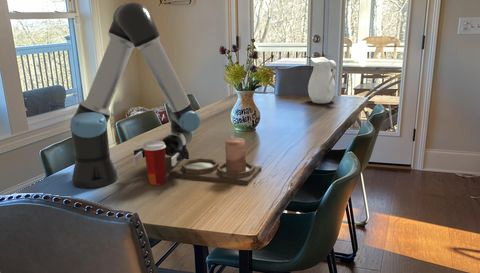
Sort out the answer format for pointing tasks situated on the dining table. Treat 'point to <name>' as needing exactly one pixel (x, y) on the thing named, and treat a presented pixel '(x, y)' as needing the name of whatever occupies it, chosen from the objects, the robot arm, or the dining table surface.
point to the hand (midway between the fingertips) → (153, 161)
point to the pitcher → (322, 80)
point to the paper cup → (155, 161)
